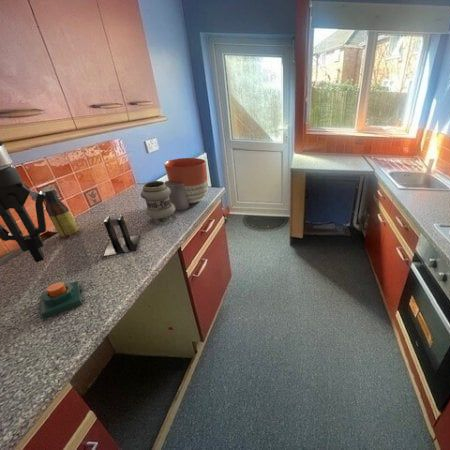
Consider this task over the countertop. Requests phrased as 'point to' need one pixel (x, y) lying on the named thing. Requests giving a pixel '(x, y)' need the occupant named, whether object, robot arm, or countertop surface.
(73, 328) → the countertop surface
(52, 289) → the button
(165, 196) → the apothecary jar
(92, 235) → the countertop surface
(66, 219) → the sauce bottle
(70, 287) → the button housing
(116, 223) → the lever
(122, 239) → the bracket
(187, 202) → the pillar candle
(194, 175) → the planter
